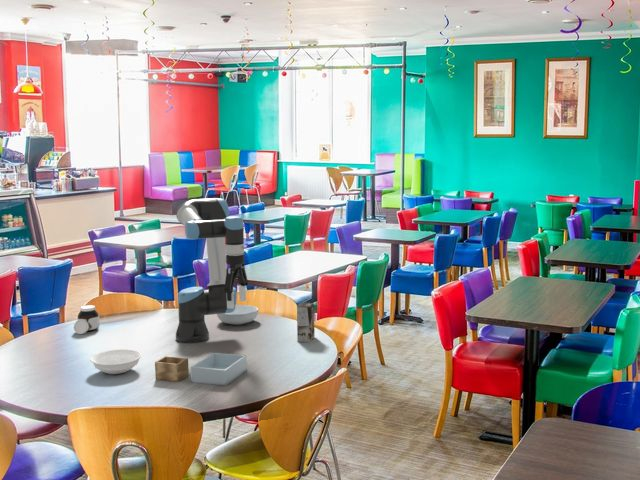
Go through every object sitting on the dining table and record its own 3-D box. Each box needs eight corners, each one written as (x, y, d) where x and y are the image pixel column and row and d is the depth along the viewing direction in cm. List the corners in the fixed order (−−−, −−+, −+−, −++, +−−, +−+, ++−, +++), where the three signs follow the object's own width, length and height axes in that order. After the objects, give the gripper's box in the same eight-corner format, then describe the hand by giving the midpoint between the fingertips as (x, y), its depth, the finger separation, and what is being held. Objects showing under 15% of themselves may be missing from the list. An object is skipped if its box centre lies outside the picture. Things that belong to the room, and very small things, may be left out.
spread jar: (99, 327, 373) (98, 304, 372) (100, 333, 363) (99, 309, 361) (73, 329, 370) (72, 306, 368) (74, 335, 359) (72, 311, 357)
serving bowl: (267, 320, 382) (266, 307, 381) (241, 330, 365) (240, 316, 364) (234, 315, 393) (234, 302, 392) (207, 324, 376) (207, 311, 375)
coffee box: (310, 342, 342) (310, 307, 340) (297, 341, 344) (296, 306, 341) (315, 336, 351) (314, 302, 349) (301, 336, 352) (300, 302, 350)
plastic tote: (191, 382, 291) (190, 367, 290) (214, 366, 309) (213, 352, 308) (225, 385, 287) (225, 370, 286) (246, 370, 305) (246, 355, 304)
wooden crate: (155, 379, 295) (154, 362, 294) (166, 373, 302) (165, 356, 301) (178, 382, 291) (177, 364, 290) (188, 375, 299) (188, 358, 298)
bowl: (115, 383, 291) (114, 367, 290) (80, 375, 302) (79, 359, 301) (152, 369, 308) (152, 353, 307) (118, 361, 318) (117, 346, 317)
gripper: (231, 259, 301) (233, 311, 304) (254, 249, 325) (255, 298, 328) (214, 258, 303) (216, 311, 306) (238, 249, 327) (239, 297, 330)
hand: (236, 304), depth 317 cm, fingers open, 13 cm apart
